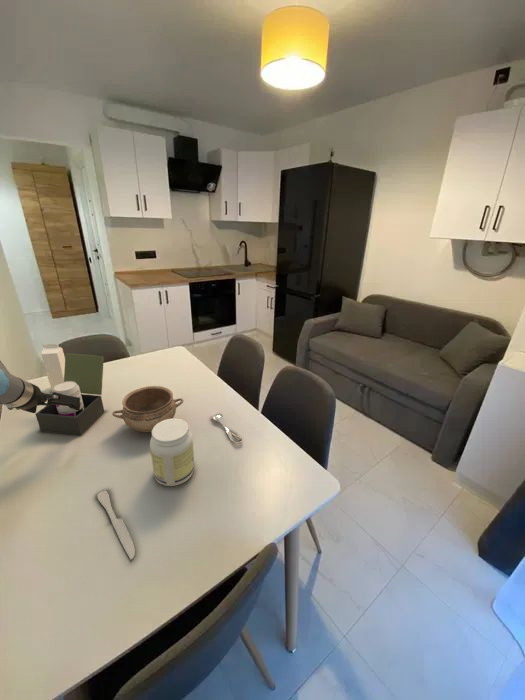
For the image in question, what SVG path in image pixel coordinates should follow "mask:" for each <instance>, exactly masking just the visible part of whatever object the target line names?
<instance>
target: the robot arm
mask: <svg viewBox="0 0 525 700" xmlns="http://www.w3.org/2000/svg"><path fill="white" fill-rule="evenodd" d="M51 404H52V405H62V406H69V407H70V408H71V409H75V410H77V411H78V410H80V398H79V397H73V396H68V395H63V394H59V393H56V392H52V393H46V392H43V391H42V390H41V388H40V387H39V386H38V385H37V384H34V383H32V382H30V381H27V380H25V379H23V378H21V377H17V376H16V375H13V374H12V373H11V372H10V371H9V370H8V369H7V367H6V366H5V364H4V363H3V362H2V361H1V360H0V405H4V406H6V408H7V410H9V411H11V410H14V409H15V410H16V411H24V412H28V413H31V414H36V413H37V408H38V406H44V407H45V406H49V405H51Z"/></svg>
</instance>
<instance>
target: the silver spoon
mask: <svg viewBox="0 0 525 700" xmlns="http://www.w3.org/2000/svg"><path fill="white" fill-rule="evenodd" d="M210 418H211V419H212V420H214V421H216V422H218V423H220V424H221V425H222V426H223V428H224V429H225V432H226V434H227V436H228V438H229V440H231V442H233V443H242V441H243V438H242V437H241V436H239V435H236V434H234V433H233V432H232V431H230V429H229V428H228V427H227V425H226V423H225V415H224V414H222V413H221V412H219V413H216V414H213V415H212V416H211V417H210Z"/></svg>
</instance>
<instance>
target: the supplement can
mask: <svg viewBox="0 0 525 700" xmlns="http://www.w3.org/2000/svg"><path fill="white" fill-rule="evenodd" d="M53 392H56V393H59V394H63V395H68V396H73V397H79V398H80V410H78V411H77V410H75V409H71V408H70V407H69V406H62V405H56V407H57V411H58V414H59V415H64V416H75V417H76V416H77V415H78V414H79V413H81V412H82V411H83V410H84V405H83V401H82V396H81V394H82V393H81V392H80V388H79V386H78V385H77V384H76V382H73V381H66V382H62V383H59V384H57V385H56V386H55V387H54V390H53ZM53 392H52V393H53Z"/></svg>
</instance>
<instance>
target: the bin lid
mask: <svg viewBox="0 0 525 700" xmlns="http://www.w3.org/2000/svg"><path fill="white" fill-rule="evenodd" d="M64 356H65V371H64V382H66V381H73V382H76V384H77V385H78V386H79V388H80V392H81V394H86V395H97V396H102V394H103V393H102V392H103V377H104V361H105V359H104V358H105V356H104V355H93V354H79V353H70V352H69V353H68V352H67V353H64Z"/></svg>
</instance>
